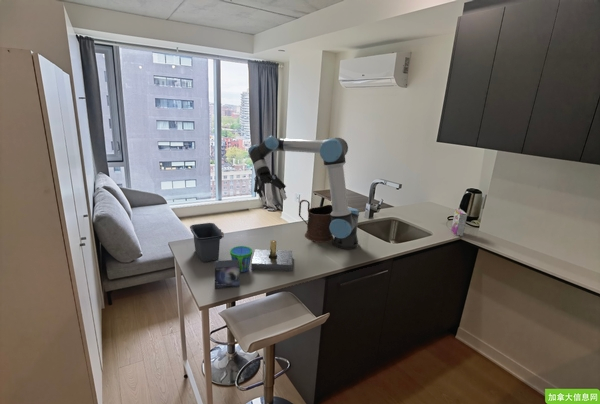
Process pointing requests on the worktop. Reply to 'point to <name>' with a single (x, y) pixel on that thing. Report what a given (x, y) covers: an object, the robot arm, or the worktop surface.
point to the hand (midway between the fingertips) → (275, 200)
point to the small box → (227, 274)
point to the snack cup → (242, 256)
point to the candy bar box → (459, 222)
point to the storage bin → (207, 240)
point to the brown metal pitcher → (318, 223)
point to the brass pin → (273, 249)
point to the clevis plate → (272, 260)
